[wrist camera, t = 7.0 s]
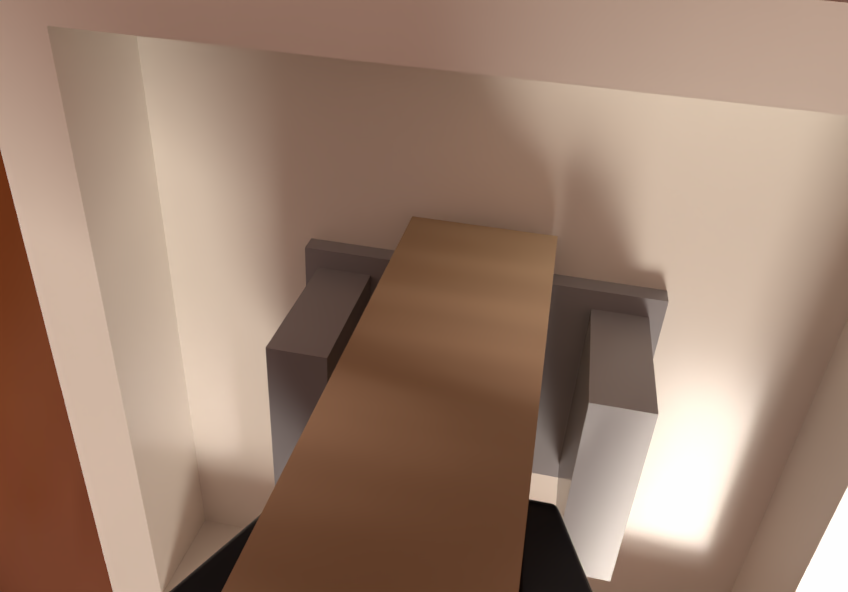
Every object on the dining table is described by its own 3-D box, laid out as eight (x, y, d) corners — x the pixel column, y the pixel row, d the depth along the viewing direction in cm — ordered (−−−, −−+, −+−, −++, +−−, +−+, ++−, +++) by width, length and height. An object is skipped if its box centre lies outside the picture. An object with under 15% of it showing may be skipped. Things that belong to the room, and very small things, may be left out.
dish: (183, 515, 17) (102, 646, 14) (82, -99, 10) (-103, -77, 8) (750, 631, 15) (782, 805, 12) (1052, -15, 9) (1259, 52, 6)
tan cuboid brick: (399, 457, 13) (175, 1140, 6) (412, 216, 10) (66, 894, 4) (517, 479, 12) (421, 1220, 6) (557, 236, 10) (472, 1008, 3)
